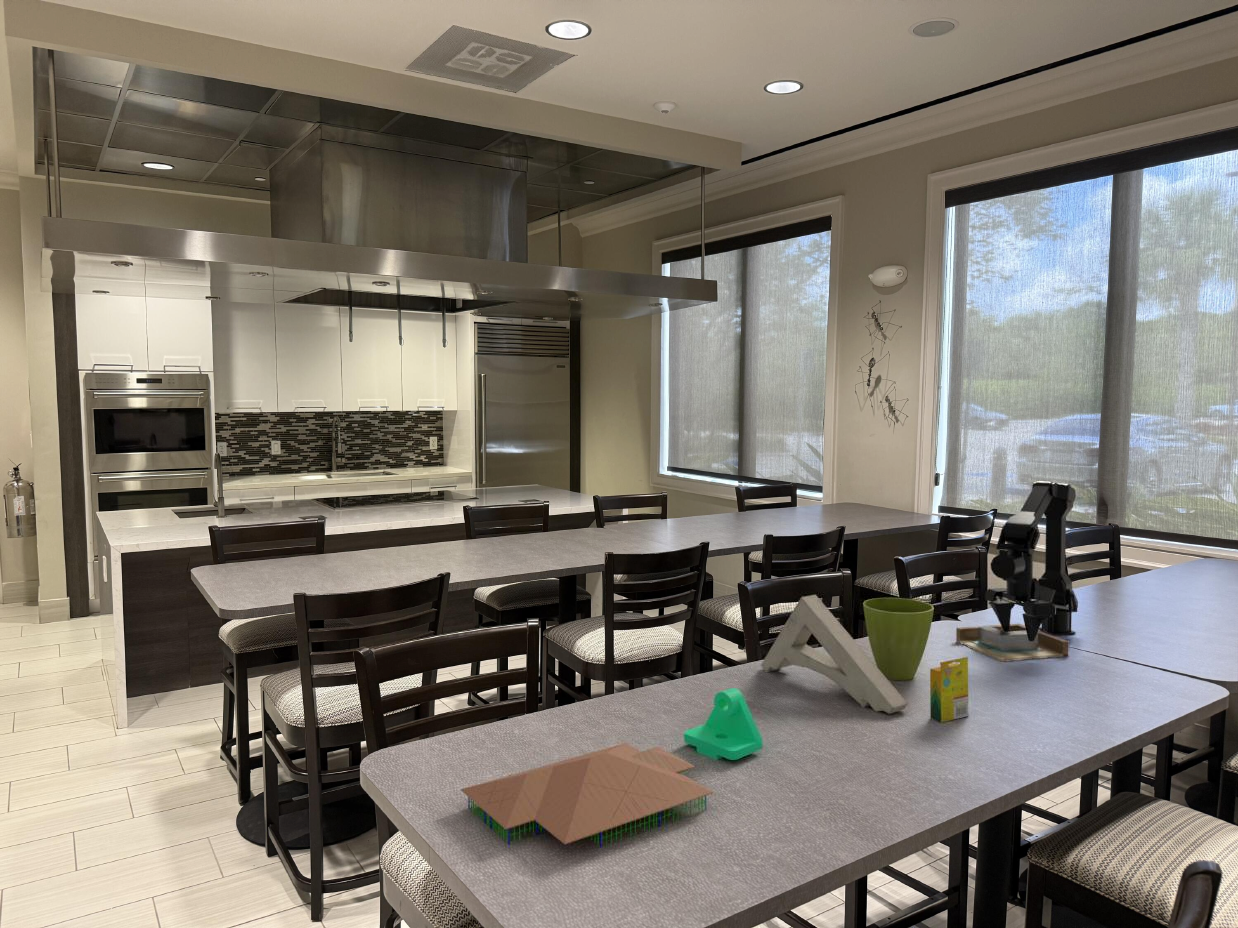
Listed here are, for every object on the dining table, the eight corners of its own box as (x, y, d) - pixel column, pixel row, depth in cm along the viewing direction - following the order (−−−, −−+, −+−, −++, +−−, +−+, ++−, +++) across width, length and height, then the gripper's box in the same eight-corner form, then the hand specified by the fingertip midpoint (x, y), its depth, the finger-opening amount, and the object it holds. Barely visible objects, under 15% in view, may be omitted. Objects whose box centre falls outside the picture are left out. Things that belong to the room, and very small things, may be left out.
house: (728, 808, 126) (727, 755, 126) (534, 878, 107) (533, 816, 107) (638, 757, 145) (638, 711, 144) (461, 810, 126) (459, 757, 126)
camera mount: (681, 746, 149) (681, 689, 148) (710, 735, 154) (710, 680, 153) (733, 767, 140) (733, 706, 139) (762, 754, 145) (762, 696, 145)
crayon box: (957, 711, 164) (957, 653, 164) (969, 716, 162) (970, 657, 161) (929, 718, 161) (929, 658, 160) (941, 723, 158) (941, 662, 158)
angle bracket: (1001, 651, 202) (1001, 635, 202) (978, 642, 211) (978, 626, 211) (1037, 649, 204) (1038, 633, 204) (1013, 639, 213) (1013, 624, 213)
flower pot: (947, 677, 186) (948, 606, 185) (904, 690, 177) (905, 615, 176) (891, 661, 198) (891, 594, 197) (848, 673, 190) (849, 603, 189)
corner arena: (1018, 637, 218) (1018, 623, 218) (1068, 656, 201) (1068, 641, 200) (956, 641, 215) (956, 627, 215) (1001, 661, 197) (1001, 646, 197)
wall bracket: (842, 776, 173) (760, 665, 193) (856, 771, 176) (774, 661, 195) (893, 708, 162) (801, 597, 181) (908, 703, 164) (815, 594, 184)
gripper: (1076, 578, 196) (1075, 644, 197) (1023, 564, 214) (1022, 625, 215) (1034, 580, 194) (1033, 647, 195) (984, 566, 212) (983, 627, 213)
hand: (1018, 636), depth 205 cm, fingers open, 9 cm apart
